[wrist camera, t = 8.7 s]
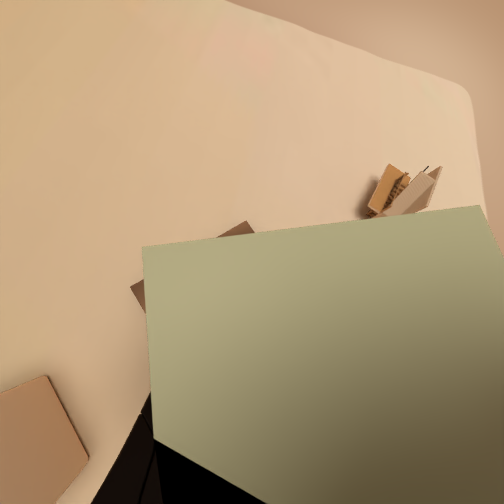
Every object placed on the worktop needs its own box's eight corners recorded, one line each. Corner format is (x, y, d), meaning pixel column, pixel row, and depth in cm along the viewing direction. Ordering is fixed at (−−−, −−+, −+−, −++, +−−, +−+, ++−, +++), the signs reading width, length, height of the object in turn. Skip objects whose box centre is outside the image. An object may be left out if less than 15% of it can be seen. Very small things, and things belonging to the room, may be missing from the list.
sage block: (289, 355, 15) (675, 636, 2) (217, 373, 14) (189, 1006, 1) (275, 284, 16) (479, 205, 3) (207, 296, 15) (141, 246, 2)
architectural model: (348, 219, 27) (396, 188, 20) (367, 181, 29) (418, 140, 22) (370, 233, 27) (427, 208, 20) (388, 194, 29) (445, 158, 22)
